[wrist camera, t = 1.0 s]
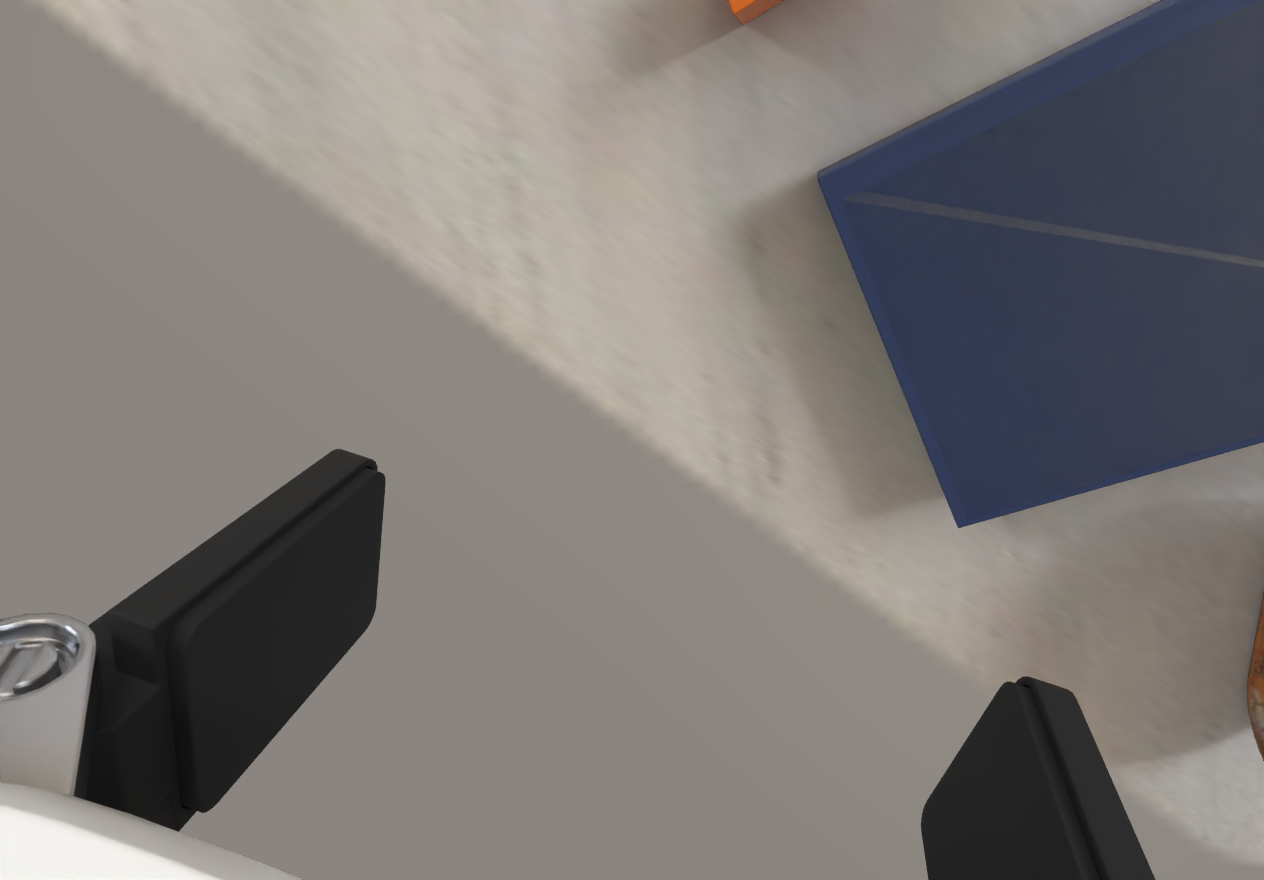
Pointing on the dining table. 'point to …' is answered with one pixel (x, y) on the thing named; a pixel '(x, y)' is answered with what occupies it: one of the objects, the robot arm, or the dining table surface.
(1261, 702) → the tin
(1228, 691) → the dining table surface
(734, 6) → the long orange block
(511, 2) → the dining table surface
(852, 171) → the book
